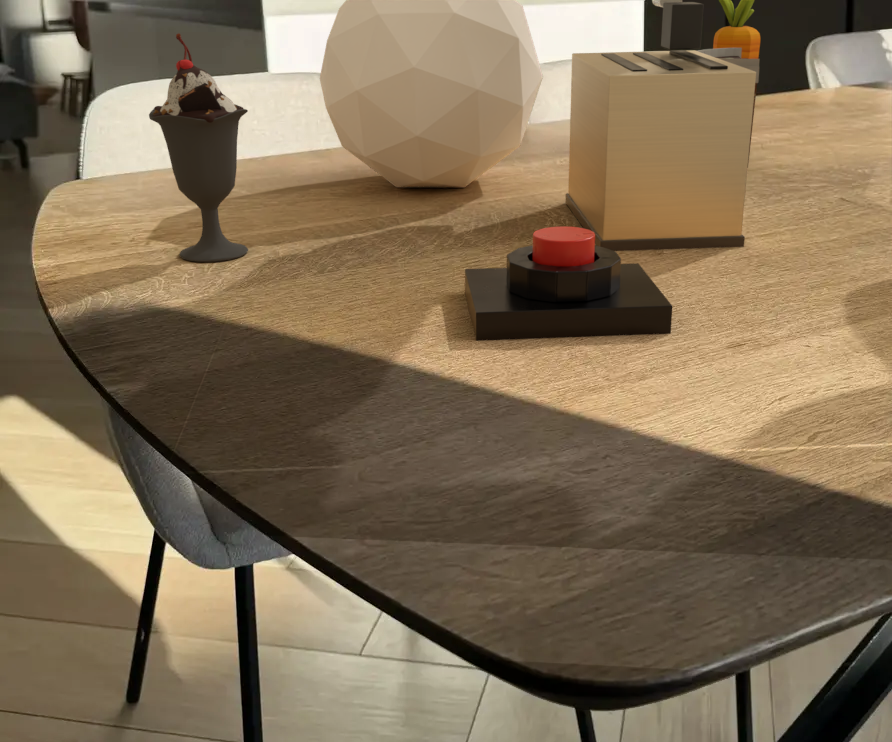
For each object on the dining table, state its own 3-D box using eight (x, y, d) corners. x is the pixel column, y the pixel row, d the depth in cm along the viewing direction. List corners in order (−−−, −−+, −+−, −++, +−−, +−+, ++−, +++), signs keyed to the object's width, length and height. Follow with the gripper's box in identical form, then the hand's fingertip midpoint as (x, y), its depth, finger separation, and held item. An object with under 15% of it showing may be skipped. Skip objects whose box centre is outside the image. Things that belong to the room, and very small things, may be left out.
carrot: (702, 137, 123) (712, -10, 117) (710, 130, 127) (721, -12, 121) (747, 139, 121) (761, -10, 115) (755, 132, 125) (768, -12, 119)
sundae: (199, 239, 85) (175, 30, 79) (276, 245, 83) (258, 31, 77) (148, 261, 80) (118, 38, 73) (229, 268, 77) (205, 39, 71)
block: (637, 289, 71) (640, 234, 70) (670, 334, 63) (674, 274, 61) (464, 295, 71) (464, 240, 69) (476, 341, 62) (475, 280, 61)
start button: (588, 254, 67) (589, 225, 66) (599, 270, 64) (600, 240, 63) (528, 256, 67) (529, 227, 66) (536, 272, 64) (536, 242, 63)
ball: (397, 268, 102) (251, 97, 91) (422, 153, 116) (298, -8, 105) (578, 173, 93) (440, -30, 82) (582, 60, 107) (464, -126, 96)
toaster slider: (690, 45, 88) (693, 1, 87) (700, 48, 85) (703, 3, 84) (660, 46, 88) (663, 2, 87) (669, 49, 85) (672, 4, 84)
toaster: (686, 199, 95) (697, 47, 90) (744, 247, 80) (760, 68, 75) (565, 202, 94) (569, 50, 89) (600, 252, 79) (607, 72, 74)
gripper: (762, -206, 75) (743, 13, 81) (686, -177, 94) (675, -1, 99) (669, -205, 75) (657, 15, 81) (612, -176, 93) (605, 1, 99)
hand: (666, 6), depth 90 cm, fingers closed
